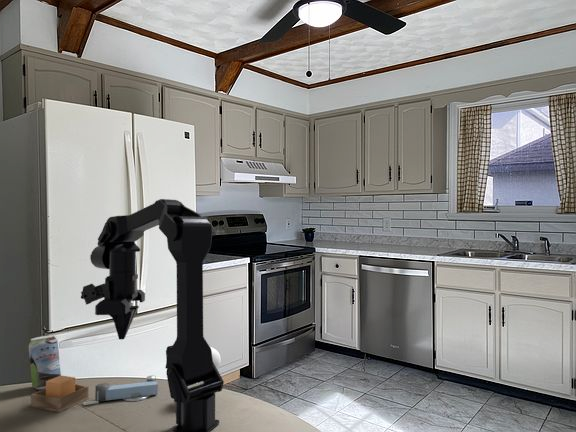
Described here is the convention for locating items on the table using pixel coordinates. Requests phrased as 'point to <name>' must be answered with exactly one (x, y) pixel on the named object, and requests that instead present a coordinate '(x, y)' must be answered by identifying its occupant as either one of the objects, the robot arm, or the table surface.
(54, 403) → the tray
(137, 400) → the plate
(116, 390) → the crank
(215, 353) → the lightbulb
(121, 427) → the table surface
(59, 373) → the printed food package
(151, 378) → the post
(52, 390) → the block
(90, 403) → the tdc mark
